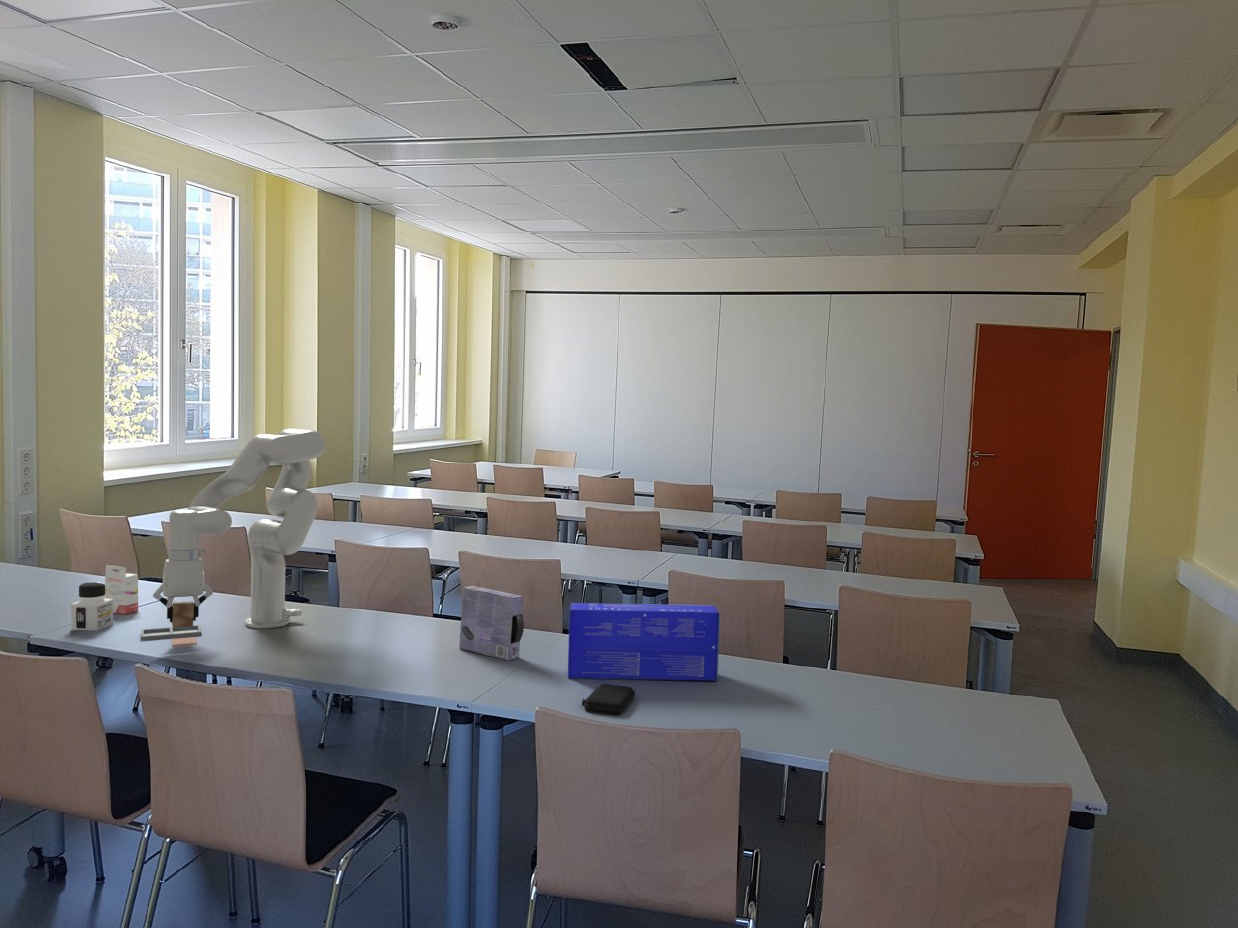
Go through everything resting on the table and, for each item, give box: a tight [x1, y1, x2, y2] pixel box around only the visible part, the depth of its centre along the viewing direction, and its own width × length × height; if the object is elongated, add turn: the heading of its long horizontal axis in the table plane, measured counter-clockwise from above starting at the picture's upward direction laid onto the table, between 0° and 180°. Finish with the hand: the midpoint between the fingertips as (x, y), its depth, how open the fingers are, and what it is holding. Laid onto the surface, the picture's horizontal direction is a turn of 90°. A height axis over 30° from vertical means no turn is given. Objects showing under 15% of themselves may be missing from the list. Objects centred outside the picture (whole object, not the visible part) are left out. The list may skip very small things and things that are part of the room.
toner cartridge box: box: [567, 602, 721, 682], centre depth 229 cm, size 39×8×18 cm, turn 92°
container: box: [70, 581, 114, 631], centre depth 253 cm, size 8×8×13 cm
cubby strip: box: [140, 624, 202, 641], centre depth 249 cm, size 15×8×1 cm, turn 118°
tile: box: [171, 636, 198, 647], centre depth 242 cm, size 6×6×1 cm
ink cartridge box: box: [104, 564, 139, 615], centre depth 271 cm, size 9×5×15 cm, turn 73°
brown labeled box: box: [171, 600, 194, 627], centre depth 241 cm, size 5×5×6 cm
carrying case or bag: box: [581, 683, 636, 716], centre depth 208 cm, size 11×3×15 cm
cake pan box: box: [458, 585, 525, 662], centre depth 243 cm, size 19×5×18 cm, turn 59°
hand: (182, 619), depth 241 cm, fingers closed on brown labeled box, 5 cm apart
